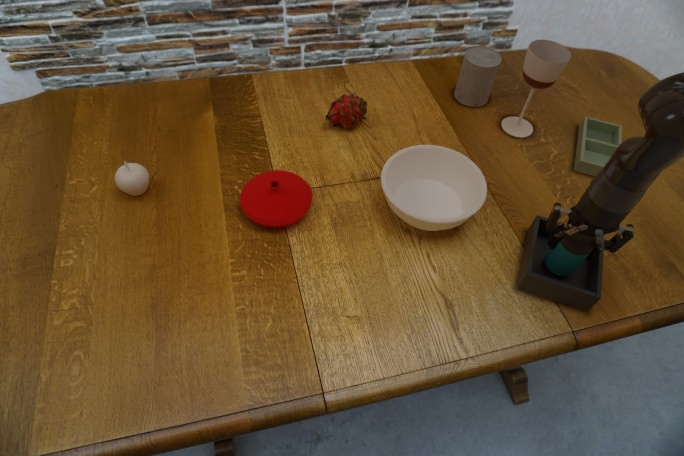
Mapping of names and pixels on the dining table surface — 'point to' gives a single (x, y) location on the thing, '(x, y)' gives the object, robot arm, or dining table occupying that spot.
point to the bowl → (433, 187)
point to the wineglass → (538, 78)
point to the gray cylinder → (477, 76)
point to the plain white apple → (132, 178)
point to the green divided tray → (596, 144)
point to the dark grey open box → (540, 281)
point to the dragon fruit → (347, 111)
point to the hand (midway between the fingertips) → (569, 251)
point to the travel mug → (569, 254)
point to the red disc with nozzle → (276, 198)
